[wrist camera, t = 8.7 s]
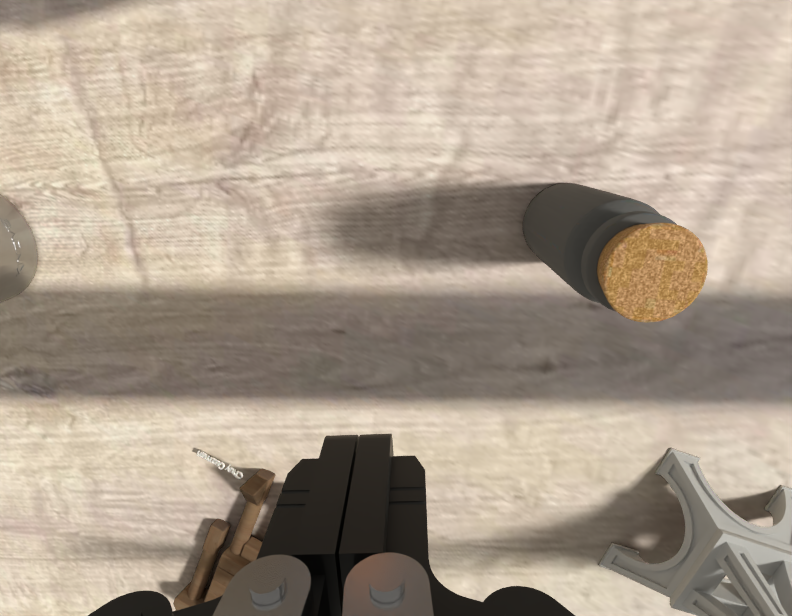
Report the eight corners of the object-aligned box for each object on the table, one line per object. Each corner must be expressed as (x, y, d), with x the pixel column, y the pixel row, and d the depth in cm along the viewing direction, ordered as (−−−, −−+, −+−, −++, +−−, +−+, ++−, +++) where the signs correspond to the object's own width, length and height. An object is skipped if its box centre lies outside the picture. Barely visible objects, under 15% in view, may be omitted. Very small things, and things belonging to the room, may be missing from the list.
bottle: (508, 244, 38) (568, 308, 24) (544, 169, 36) (632, 189, 22) (578, 273, 39) (677, 352, 25) (617, 200, 37) (748, 240, 23)
